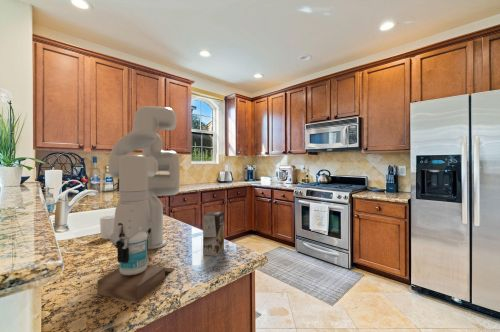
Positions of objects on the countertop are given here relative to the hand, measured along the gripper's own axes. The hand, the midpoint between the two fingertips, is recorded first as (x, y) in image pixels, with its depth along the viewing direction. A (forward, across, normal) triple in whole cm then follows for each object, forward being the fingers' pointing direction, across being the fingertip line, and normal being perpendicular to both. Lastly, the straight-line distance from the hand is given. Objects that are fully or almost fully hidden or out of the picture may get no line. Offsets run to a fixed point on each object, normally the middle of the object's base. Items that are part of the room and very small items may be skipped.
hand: (133, 256), depth 70 cm
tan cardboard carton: (+10, -4, 0) cm, 11 cm away
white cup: (+10, -38, -46) cm, 61 cm away
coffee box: (+9, -33, +12) cm, 36 cm away
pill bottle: (+4, 0, 0) cm, 4 cm away
